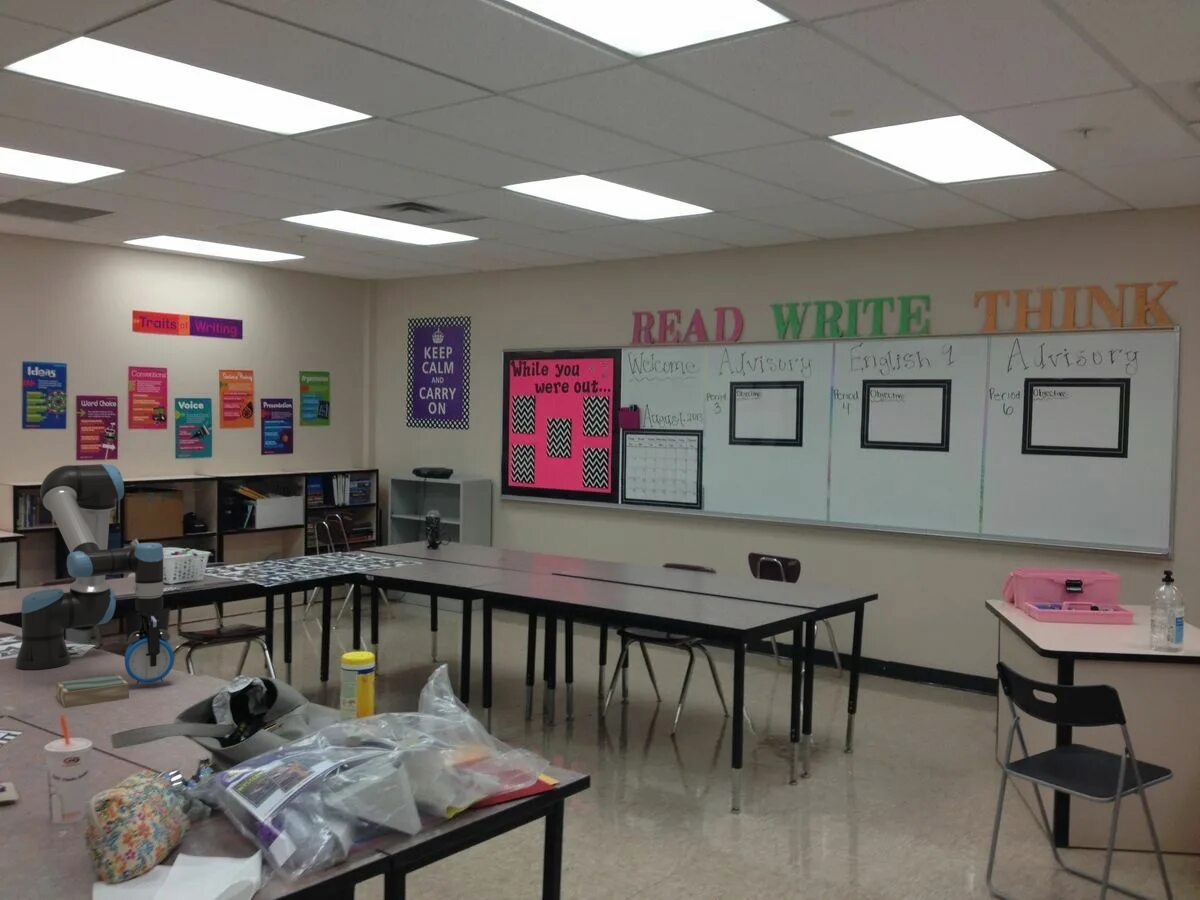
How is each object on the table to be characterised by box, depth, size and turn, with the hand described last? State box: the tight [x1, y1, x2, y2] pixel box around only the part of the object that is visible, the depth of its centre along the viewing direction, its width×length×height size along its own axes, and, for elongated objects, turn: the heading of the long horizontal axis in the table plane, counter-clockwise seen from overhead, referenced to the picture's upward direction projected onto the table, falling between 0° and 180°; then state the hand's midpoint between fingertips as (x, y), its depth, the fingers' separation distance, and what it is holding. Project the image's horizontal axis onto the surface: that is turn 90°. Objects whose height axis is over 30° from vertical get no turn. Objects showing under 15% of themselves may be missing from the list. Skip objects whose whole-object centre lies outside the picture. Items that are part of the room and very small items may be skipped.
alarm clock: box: [124, 628, 175, 685], centre depth 299 cm, size 13×6×15 cm, turn 116°
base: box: [56, 673, 130, 708], centre depth 286 cm, size 14×16×4 cm
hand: (149, 674), depth 299 cm, fingers closed on alarm clock, 7 cm apart
